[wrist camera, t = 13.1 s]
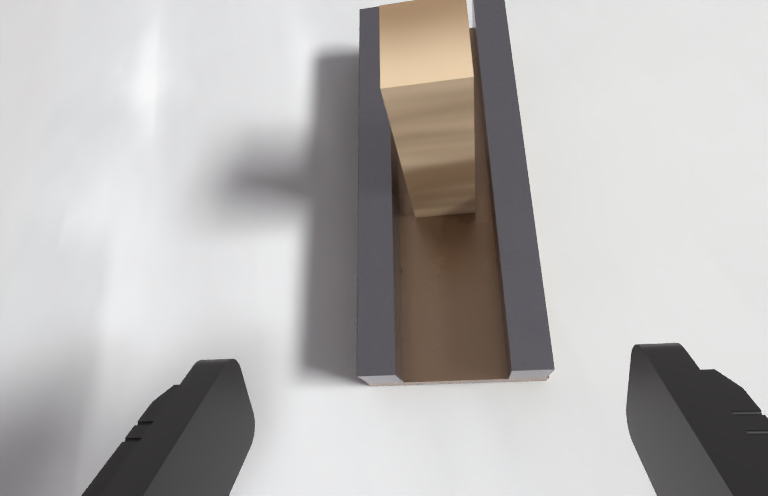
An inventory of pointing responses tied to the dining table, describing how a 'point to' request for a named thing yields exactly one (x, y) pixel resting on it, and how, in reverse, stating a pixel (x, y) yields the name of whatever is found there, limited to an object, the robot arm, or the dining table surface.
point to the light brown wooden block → (430, 101)
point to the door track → (450, 240)
